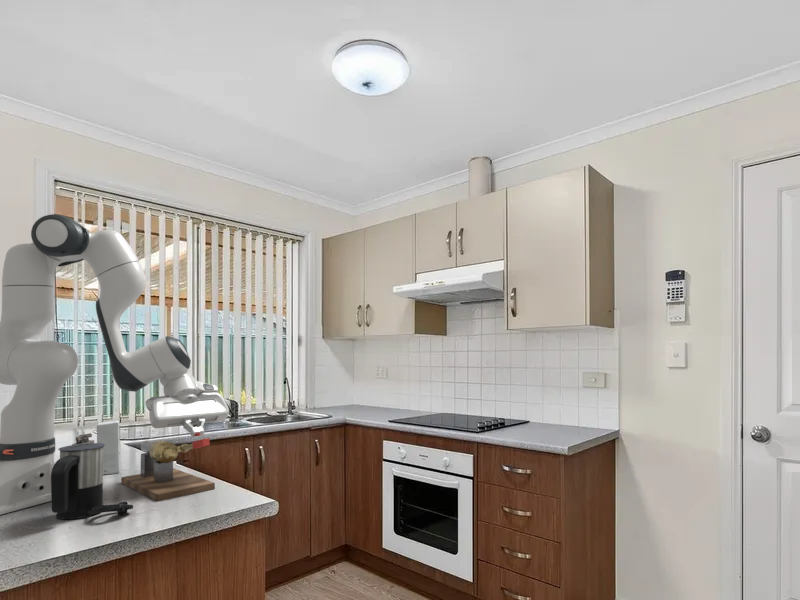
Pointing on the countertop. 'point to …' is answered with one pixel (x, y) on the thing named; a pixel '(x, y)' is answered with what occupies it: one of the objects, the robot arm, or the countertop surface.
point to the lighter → (84, 439)
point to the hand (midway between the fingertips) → (198, 434)
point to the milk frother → (80, 483)
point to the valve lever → (195, 445)
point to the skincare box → (109, 445)
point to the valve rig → (164, 474)
